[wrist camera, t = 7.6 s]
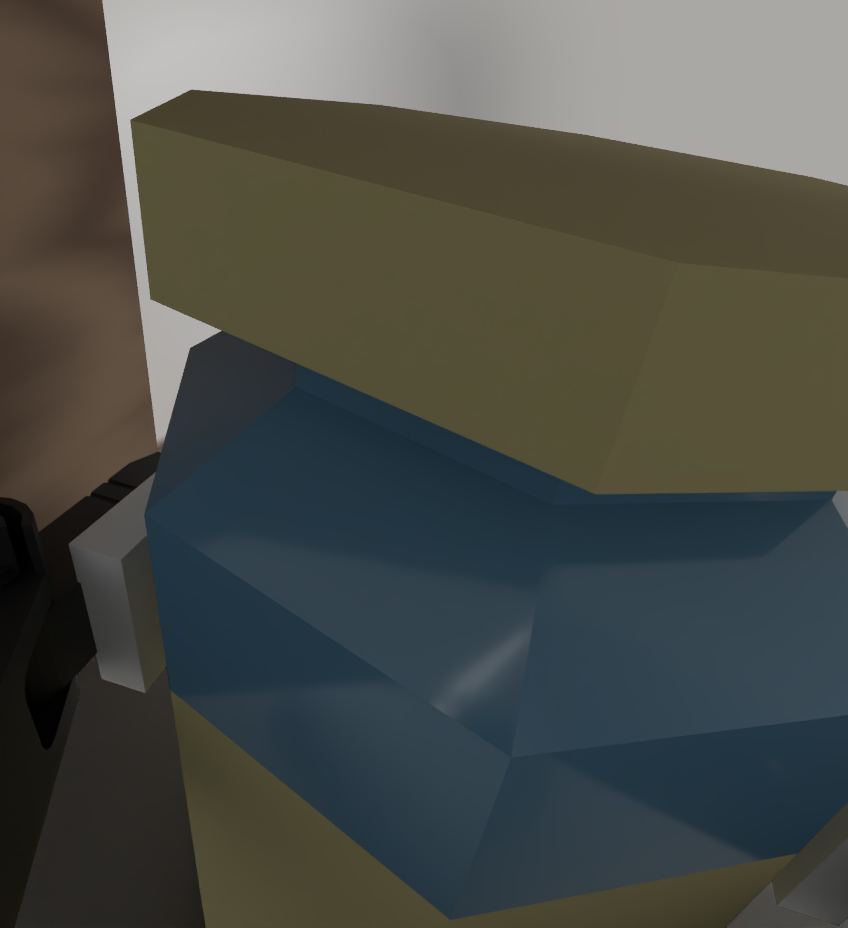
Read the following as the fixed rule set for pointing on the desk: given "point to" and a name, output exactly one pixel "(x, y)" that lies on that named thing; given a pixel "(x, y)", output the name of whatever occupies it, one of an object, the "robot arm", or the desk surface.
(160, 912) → the desk surface
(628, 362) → the jar
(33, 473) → the shelf
